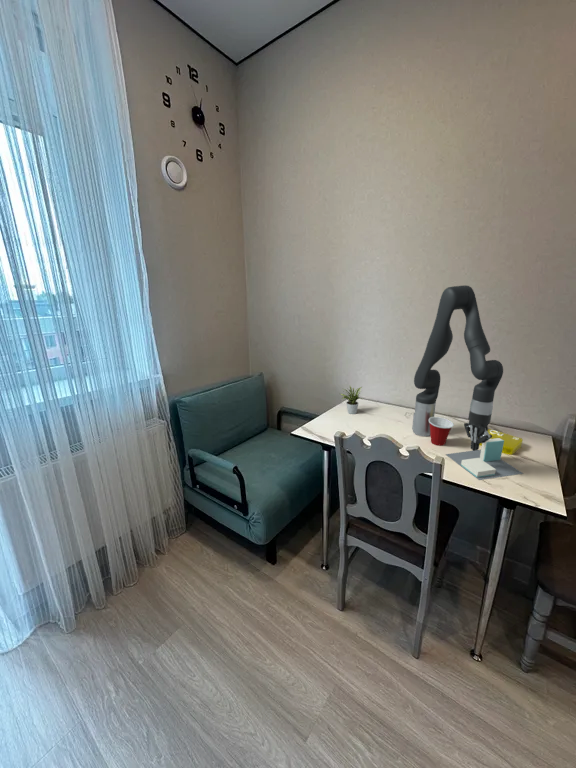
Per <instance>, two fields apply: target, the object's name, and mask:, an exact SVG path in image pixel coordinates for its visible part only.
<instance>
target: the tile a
mask: <svg viewBox="0 0 576 768" xmlns="http://www.w3.org/2000/svg"><path fill="white" fill-rule="evenodd" d="M461 466H463V467H464V468H465V469H466V470H468V471H469V472H470V473H472V474H473V475H474V476H476V477H477V478H478V477H484V476H491V475H495V472H496V469H495V468H493V467H492V466H490V465H489V464H487V463H486V462H484V461H483V460H481V459H480V458H473V459H466V460H462V462H461ZM461 466H460V467H461ZM464 468H463V469H464ZM465 469H464V470H465ZM466 470H465V471H466ZM468 471H467V472H468ZM469 472H468V473H469ZM470 473H469V474H470ZM472 474H471V475H472ZM473 475H472V476H473ZM474 476H473V477H474ZM477 478H476V479H477Z"/></svg>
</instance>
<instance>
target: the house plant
mask: <svg viewBox="0 0 576 768" xmlns="http://www.w3.org/2000/svg"><path fill="white" fill-rule="evenodd" d="M362 388H363V386H361V387H359V388H356V389H355V388H354V387H353V388H352V387H351V386H349V388H347V389H345V388H343V391H345V393H347V394H344V393H340V395H341V396H343V397H341V400H343V399H345V400H347V401H346V409H347V414H348V415H356V414H357V412H358V407H359V402H358V401H357V400H359V399H361V400H363V398H360V394H361V391H362V390H361V389H362Z"/></svg>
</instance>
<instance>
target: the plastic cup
mask: <svg viewBox="0 0 576 768" xmlns="http://www.w3.org/2000/svg"><path fill="white" fill-rule="evenodd" d="M429 424H430V436H429V437H430V443H431V444H432V445H435V446H439V447H443V446H445V444H446V442H447V440H448V438H449V435H450V432H451V430H452V428H453V427H454V426H455V425H454V423H453V421H451V420H449V419H447V418H444V417H440V416H434V417H431V418H429Z"/></svg>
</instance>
